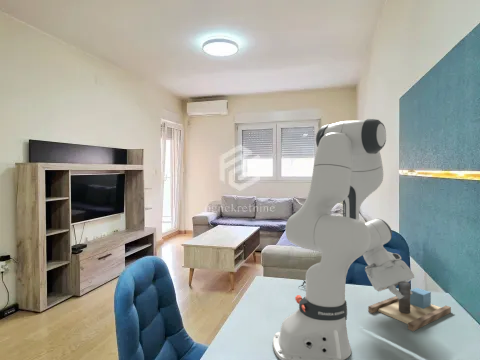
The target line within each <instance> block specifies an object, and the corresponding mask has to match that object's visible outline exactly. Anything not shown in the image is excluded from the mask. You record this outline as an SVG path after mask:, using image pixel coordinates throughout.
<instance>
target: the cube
mask: <svg viewBox="0 0 480 360" xmlns="http://www.w3.org/2000/svg"><path fill="white" fill-rule="evenodd" d="M410 290H411V291H412V293H413V294H412V295H410V304H412V305H414V306H417V307H420V308H422V309H424V308H426V307H429V306H431V304H432V302H431V301H432V300H431V299H432V291H428V290H425V289H421V288H419V287H414V288H412V289H410Z"/></svg>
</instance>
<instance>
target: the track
mask: <svg viewBox="0 0 480 360" xmlns="http://www.w3.org/2000/svg"><path fill="white" fill-rule="evenodd" d="M397 301H399V299H398V298H397V296H396V295H395V296H392V297H389V298H387V299H384V300H381V301H379V302H376V303H374V304H373V303H372V304H370V305H368V307H367V308H368V309H367V311H368V312H369V313H371V314H375V313H377V312H379V308H382V307H385V306H387V305H390V304H392V303H395V302H397ZM451 308H452V307H451V306H448V305H444V306H442V307H441V308H439V309H437V310H435V311H433V312H431V313H429V314H427V315H424V316H422V317H420V318H418V319H416V320H414V321H411V322H409V323H408V324H407V330H409V331H411V332H415V331H417V330H419V329H421V328H423V327H424V326H427V325H428V324H431V323H433V322H434V321H437V320H439V319H441V318H443V317H445V316H446V315H449V314H451V312H452V309H451Z"/></svg>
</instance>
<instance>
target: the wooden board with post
mask: <svg viewBox="0 0 480 360" xmlns="http://www.w3.org/2000/svg"><path fill="white" fill-rule="evenodd" d="M410 290H411V283H410V282H404V281H401V282H399V285H398V291H399V292H402V293H403V295H404V298H402V299H399V301H397V302H395V303H392V304H390V305H387V306H385V307H382V308H379V311H378V313H381V314H384V315H385V316H388V317H390V318H393V319H395V320H398V321H400V322H402V323H404V324H407V325H408V323H409V322H411V321H414V320H416V319H418V318H420V317H422V316H424V315H427V314H429V313H431V312H433V311H435V310H437V309H439V308H442V307H441V306H437V305H435V304H432V303H431V306H429V307H426V308H424V309H422V308H420V307H417V306H414V305H412V304H410Z"/></svg>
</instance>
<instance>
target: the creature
mask: <svg viewBox="0 0 480 360" xmlns="http://www.w3.org/2000/svg"><path fill="white" fill-rule="evenodd" d="M305 284H306V280H304V279H303V281H302V284H301V285H299V286H298V288H299V287H303V286H304V285H305Z"/></svg>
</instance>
